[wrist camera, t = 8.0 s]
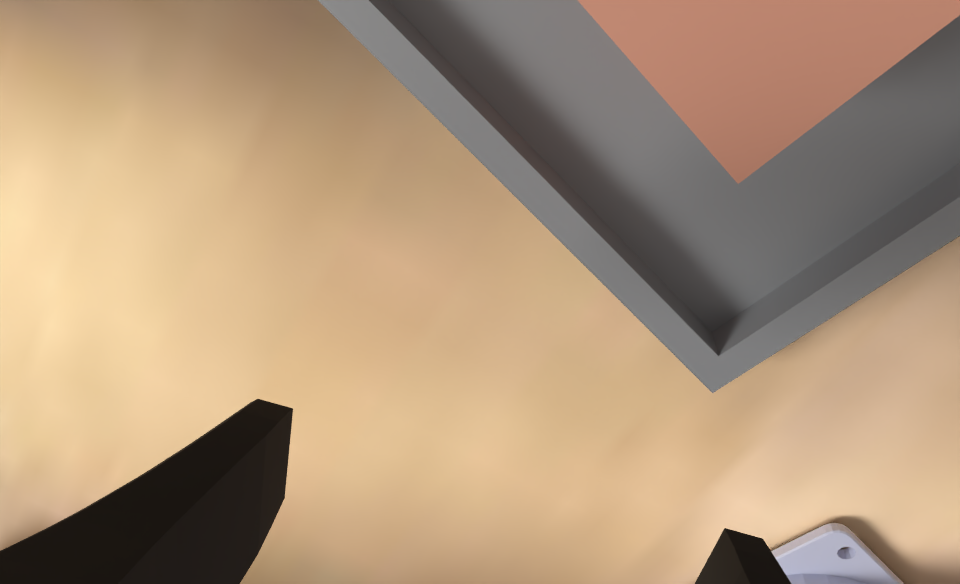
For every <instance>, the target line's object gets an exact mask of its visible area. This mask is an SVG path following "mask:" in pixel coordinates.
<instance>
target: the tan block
mask: <svg viewBox="0 0 960 584" xmlns="http://www.w3.org/2000/svg"><path fill="white" fill-rule="evenodd" d="M578 1H579V3H580V4H581V5H582V6H583V7H584V8H585V9H586V11H587V12H588V13H589V14H590V15H591V16H592V17H593V19H594V20H595V21H596V22H597V23H598V24H599V25H600V27H601V28H602V29H603V30H604V31H605V32H606V34H607V35H608V36H609V37H610V38H611V39H612V40H613V42H614V43H615V44H616V45H617V46H618V47H619V48H620V50H621V51H622V52H623V53H624V54H625V55H626V56H627V58H628V59H629V60H630V61H631V62H632V63H633V64H634V66H635V67H636V68H637V69H638V70H639V71H640V72H641V74H642V75H643V76H644V77H645V78H646V79H647V80H648V82H649V83H650V84H651V85H652V86H653V87H654V88H655V90H656V91H657V92H658V93H659V94H660V95H661V96H662V98H663V99H664V100H665V101H666V102H667V103H668V104H669V106H670V107H671V108H672V109H673V110H674V111H675V112H676V114H677V115H678V116H679V117H680V118H681V119H682V120H683V122H684V123H685V124H686V125H687V126H688V127H689V128H690V130H691V131H692V132H693V133H694V134H695V135H696V136H697V138H698V139H699V140H700V141H701V142H702V143H703V144H704V146H705V147H706V148H707V149H708V150H709V151H710V152H711V154H712V155H713V156H714V157H715V158H716V159H717V160H718V162H719V163H720V164H721V165H722V166H723V167H724V168H725V170H726V171H727V172H728V173H729V174H730V175H731V177H732V178H733V179H734V180H735V181H736V182H737V183H738V184H739V183H740V182H741V181H743V180H744V179H745V178H747V177H748V176H749V175H751V174H752V173H753V172H755V171H756V170H757V169H759V168H760V167H761V166H762V165H764V164H765V163H766V162H768V161H769V160H770V159H772V158H773V157H774V156H776V155H777V154H778V153H779V152H781V151H782V150H783V149H785V148H786V147H787V146H789V145H790V144H791V143H793V142H794V141H795V140H797V139H798V138H799V137H800V136H802V135H803V134H804V133H806V132H807V131H808V130H810V129H811V128H812V127H814V126H815V125H816V124H818V123H819V122H820V121H821V120H823V119H824V118H825V117H827V116H828V115H829V114H831V113H832V112H833V111H835V110H836V109H837V108H839V107H840V106H841V105H842V104H844V103H845V102H846V101H848V100H849V99H850V98H852V97H853V96H854V95H856V94H857V93H858V92H859V91H861V90H862V89H863V88H865V87H866V86H867V85H869V84H870V83H871V82H873V81H874V80H875V79H877V78H878V77H879V76H880V75H882V74H883V73H884V72H886V71H887V70H888V69H890V68H891V67H892V66H894V65H895V64H896V63H898V62H899V61H900V60H901V59H903V58H904V57H905V56H907V55H908V54H909V53H911V52H912V51H913V50H915V49H916V48H917V47H919V46H920V45H921V44H922V43H924V42H925V41H926V40H928V39H929V38H930V37H932V36H933V35H934V34H936V33H937V32H938V31H939V30H941V29H942V28H943V27H945V26H946V25H947V24H949V23H950V22H951V21H953V20H954V19H955V18H957V17H958V16H959V15H960V0H578Z"/></svg>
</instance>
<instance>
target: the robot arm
mask: <svg viewBox="0 0 960 584" xmlns="http://www.w3.org/2000/svg"><path fill="white" fill-rule="evenodd" d="M292 413H293V408H289V407H285V406H282V405H278V404H274V403H271V402H267V401H264V400H260V399H257V400H255V401H253V402H251V403H250V404H248V405H247V406H245V407H244V408H242V409H241V410H239V411H238V412H236V413H235V414H233V415H232V416H231V417H229V418H228V419H226V420H225V421H223V422H222V423H220V424H219V425H217V426H216V427H215V428H213V429H212V430H210V431H209V432H207V433H206V434H204V435H203V436H201V437H200V438H198V439H197V440H195V441H194V442H192V443H191V444H189V445H188V446H186V447H185V448H183V449H182V450H180V451H179V452H177V453H175V454H174V455H172V456H171V457H169V458H168V459H166V460H164V461H163V462H161V463H160V464H158V465H157V466H155V467H153V468H152V469H150V470H149V471H147V472H146V473H144V474H142V475H141V476H139V477H137V478H136V479H134V480H132V481H131V482H129V483H127V484H126V485H124V486H122V487H120V488H119V489H117V490H115V491H113V492H112V493H110V494H108V495H107V496H105V497H103V498H101V499H100V500H98V501H96V502H94V503H93V504H91V505H89V506H88V507H86V508H84V509H82V510H80V511H78V512H77V513H75V514H73V515H71V516H69V517H67V518H65V519H63V520H62V521H60V522H58V523H56V524H54V525H52V526H50V527H48V528H46V529H44V530H42V531H40V532H38V533H36V534H34V535H32V536H30V537H28V538H26V539H24V540H22V541H20V542H18V543H16V544H14V545H12V546H10V547H8V548H5V549H3V550H1V551H0V584H240V582H241V581H242V579H243V577H244V576H245V574H246V573H247V571H248V569H249V568H250V566H251V564H252V563H253V561H254V560H255V558H256V556H257V555H258V553H259V551H260V549H261V547H262V544H263V542H264V540H265V538H266V536H267V534H268V532H269V530H270V528H271V526H272V524H273V522H274V520H275V517H276V515H277V513H278V511H279V509H280V507H281V505H282V502H283V500H284V498H285V487H286V476H287V466H288V455H289V445H290V434H291V424H292ZM843 547H848V548H846V549H841V548H843ZM695 584H904V583H903V582H902V581H901V580H900V579H899V578H898V577H897V576H896V575H895V574H894V573H893V572H892V571H891V570H890V569H889V568H888V567H887V566H886V565H885V564H884V563H883V562H882V561H881V560H880V559H879V558H878V557H877V556H876V555H875V554H874V553H873V552H872V551H871V550H870V549H869V548H868V547H867V546H866V545H865V544H864V543H863V542H862V541H861V540H860V539H859V538H858V537H857V536H856V535H855V534H854V533H853V532H852V531H851V530H850V529H849V528H848V527H846V526H845V525H843V524H839V523H829V524H826V525H823V526H821V527H819V528H817V529H815V530H813V531H811V532H809V533H807V534H805V535H803V536H801V537H799V538H797V539H795V540H793V541H791V542H789V543H787V544H785V545H783V546H781V547H779V548H777V549H775V550H773V551H770V549H769V548H768V546H767V545H766V543H765V541H764V540H763V539H762V538H758V537H755V536H751V535H747V534H744V533H740V532H737V531H733V530H729V529H726V528H725V529H724V530H723V532H722V534H721V536H720V538H719V540H718V542H717V543H716V545H715V547H714V549H713V551H712V553H711V555H710V556H709V558H708V560H707V562H706V564H705V566H704V568H703V569H702V571H701V573H700V575H699V577H698V579H697V581H696V582H695Z"/></svg>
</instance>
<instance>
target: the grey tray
mask: <svg viewBox="0 0 960 584" xmlns="http://www.w3.org/2000/svg"><path fill="white" fill-rule="evenodd" d="M318 1H319V2H320V3H321V4H322V5H323V6H324V7H325V8H326V9H327V10H328V11H329V12H330V13H331V14H332V15H333V16H334V17H335V18H336V19H337V20H338V21H339V22H340V23H341V24H342V25H343V26H344V27H345V28H346V29H347V30H348V31H349V32H350V33H351V34H352V35H353V36H354V37H355V38H356V39H357V40H359V41H360V42H361V43H362V44H363V45H364V46H365V47H366V48H367V49H368V50H369V51H370V52H371V53H372V54H373V55H374V56H375V57H376V58H377V59H378V60H379V61H380V62H381V63H382V64H383V65H384V66H385V67H386V68H387V69H388V70H389V71H390V72H391V73H392V74H393V75H394V76H395V77H396V78H397V79H398V80H399V81H400V82H401V83H402V84H403V85H404V86H405V87H406V88H407V89H408V90H409V91H410V92H411V93H412V94H413V95H414V96H415V97H416V98H417V99H418V100H419V101H420V102H421V103H422V104H423V105H424V106H425V107H426V108H427V109H428V110H429V111H430V112H431V113H432V114H433V115H434V116H435V117H436V118H437V119H438V120H439V121H440V122H441V123H442V124H443V125H444V126H445V127H446V128H447V129H448V130H449V131H450V132H451V133H452V134H453V135H454V136H455V137H456V138H457V139H458V140H459V141H460V142H461V143H462V144H463V145H464V146H465V147H466V148H467V149H468V150H469V151H470V152H471V153H472V154H473V155H474V156H475V157H476V158H477V159H478V160H479V161H480V162H481V163H482V164H483V165H484V166H485V167H486V168H487V169H488V170H489V171H490V172H491V173H492V174H493V175H494V176H495V177H496V178H497V179H498V180H499V181H500V182H501V183H502V184H503V185H504V186H505V187H506V188H507V189H508V190H509V191H510V192H511V193H512V194H513V195H514V196H515V197H516V198H517V199H518V200H519V201H520V202H521V203H522V204H523V205H524V206H525V207H526V208H527V209H528V210H529V211H530V212H531V213H532V214H533V215H534V216H535V217H536V218H537V219H538V220H539V221H540V222H541V223H542V224H543V225H544V226H545V227H546V228H547V229H548V230H549V231H550V232H551V233H552V234H553V235H554V236H555V237H556V238H557V239H558V240H559V241H560V242H561V243H562V244H563V245H564V246H565V247H566V248H567V249H568V250H569V251H570V252H571V253H572V254H573V255H574V256H575V257H576V258H577V259H578V260H579V261H580V262H581V263H582V264H583V265H584V266H585V267H586V268H587V269H588V270H589V271H591V272H592V273H593V274H594V275H595V276H596V277H597V278H598V279H599V280H600V281H601V282H602V283H603V284H604V285H605V286H606V287H607V288H608V289H609V290H610V291H611V292H612V293H613V294H614V295H615V296H616V297H617V298H618V299H619V300H620V301H621V302H622V303H623V304H624V305H625V306H626V307H627V308H628V309H629V310H630V311H631V312H632V313H633V314H634V315H635V316H636V317H637V318H638V319H639V320H640V321H641V322H642V323H643V324H644V325H645V326H646V327H647V328H648V329H649V330H650V331H651V332H652V333H653V334H654V335H655V336H656V337H657V338H658V339H659V340H660V341H661V342H662V343H663V344H664V345H665V346H666V347H667V348H668V349H669V350H670V351H671V352H672V353H673V354H674V355H675V356H676V357H677V358H678V359H679V360H680V361H681V362H682V363H683V364H684V365H685V366H686V367H687V368H688V369H689V370H690V371H691V372H692V373H693V374H694V375H695V376H696V377H697V378H698V379H699V380H700V381H701V382H702V383H703V384H704V385H705V386H706V387H707V388H708V389H709V390H710V391H711V392H712V393H713V392H715V391H717V390H718V389H720V388H721V387H723V386H724V385H726V384H728V383H729V382H731V381H732V380H734V379H735V378H737V377H739V376H740V375H742V374H743V373H745V372H746V371H748V370H750V369H751V368H753V367H754V366H756V365H757V364H759V363H761V362H762V361H764V360H765V359H767V358H768V357H770V356H772V355H773V354H775V353H776V352H778V351H779V350H781V349H783V348H784V347H786V346H787V345H789V344H790V343H792V342H794V341H795V340H797V339H798V338H800V337H801V336H803V335H805V334H806V333H808V332H809V331H811V330H812V329H814V328H816V327H817V326H819V325H820V324H822V323H823V322H825V321H827V320H828V319H830V318H831V317H833V316H834V315H836V314H838V313H839V312H841V311H842V310H844V309H845V308H847V307H849V306H850V305H852V304H853V303H855V302H856V301H858V300H860V299H861V298H863V297H864V296H866V295H867V294H869V293H871V292H872V291H874V290H875V289H877V288H878V287H880V286H882V285H883V284H885V283H886V282H888V281H889V280H891V279H893V278H894V277H896V276H897V275H899V274H900V273H902V272H904V271H905V270H907V269H908V268H910V267H911V266H913V265H915V264H916V263H918V262H919V261H921V260H922V259H924V258H926V257H927V256H929V255H930V254H932V253H933V252H935V251H937V250H938V249H940V248H941V247H943V246H944V245H946V244H948V243H949V242H951V241H952V240H954V239H955V238H957V237H959V236H960V15H959V16H958V17H957V18H955V19H954V20H953V21H951V22H950V23H949V24H947V25H946V26H945V27H943V28H942V29H941V30H939V31H938V32H937V33H936V34H934V35H933V36H932V37H930V38H929V39H928V40H926V41H925V42H924V43H922V44H921V45H920V46H919V47H917V48H916V49H915V50H913V51H912V52H911V53H909V54H908V55H907V56H905V57H904V58H903V59H901V60H900V61H899V62H898V63H896V64H895V65H894V66H892V67H891V68H890V69H888V70H887V71H886V72H884V73H883V74H882V75H880V76H879V77H878V78H877V79H875V80H874V81H873V82H871V83H870V84H869V85H867V86H866V87H865V88H863V89H862V90H861V91H859V92H858V93H857V94H856V95H854V96H853V97H852V98H850V99H849V100H848V101H846V102H845V103H844V104H842V105H841V106H840V107H839V108H837V109H836V110H835V111H833V112H832V113H831V114H829V115H828V116H827V117H825V118H824V119H823V120H821V121H820V122H819V123H818V124H816V125H815V126H814V127H812V128H811V129H810V130H808V131H807V132H806V133H804V134H803V135H802V136H800V137H799V138H798V139H797V140H795V141H794V142H793V143H791V144H790V145H789V146H787V147H786V148H785V149H783V150H782V151H781V152H779V153H778V154H777V155H776V156H774V157H773V158H772V159H770V160H769V161H768V162H766V163H765V164H764V165H762V166H761V167H760V168H759V169H757V170H756V171H755V172H753V173H752V174H751V175H749V176H748V177H747V178H745V179H744V180H743V181H741V182H740V183H739V184H738V183H737V182H736V181H735V180H734V179H733V178H732V177H731V175H730V174H729V173H728V172H727V171H726V170H725V168H724V167H723V166H722V165H721V164H720V163H719V162H718V160H717V159H716V158H715V157H714V156H713V155H712V154H711V152H710V151H709V150H708V149H707V148H706V147H705V146H704V144H703V143H702V142H701V141H700V140H699V139H698V138H697V136H696V135H695V134H694V133H693V132H692V131H691V130H690V128H689V127H688V126H687V125H686V124H685V123H684V122H683V120H682V119H681V118H680V117H679V116H678V115H677V114H676V112H675V111H674V110H673V109H672V108H671V107H670V106H669V104H668V103H667V102H666V101H665V100H664V99H663V98H662V96H661V95H660V94H659V93H658V92H657V91H656V90H655V88H654V87H653V86H652V85H651V84H650V83H649V82H648V80H647V79H646V78H645V77H644V76H643V75H642V74H641V72H640V71H639V70H638V69H637V68H636V67H635V66H634V64H633V63H632V62H631V61H630V60H629V59H628V58H627V56H626V55H625V54H624V53H623V52H622V51H621V50H620V48H619V47H618V46H617V45H616V44H615V43H614V42H613V40H612V39H611V38H610V37H609V36H608V35H607V34H606V32H605V31H604V30H603V29H602V28H601V27H600V25H599V24H598V23H597V22H596V21H595V20H594V19H593V17H592V16H591V15H590V14H589V13H588V12H587V11H586V9H585V8H584V7H583V6H582V5H581V4H580V3H579V1H578V0H318Z"/></svg>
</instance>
